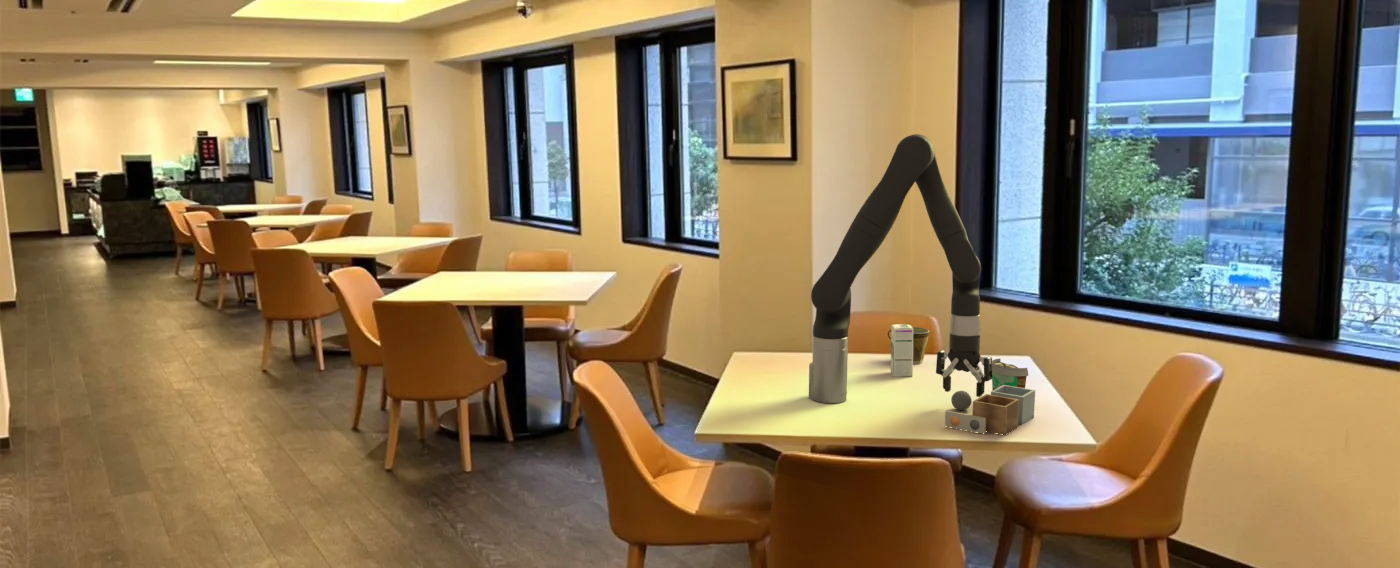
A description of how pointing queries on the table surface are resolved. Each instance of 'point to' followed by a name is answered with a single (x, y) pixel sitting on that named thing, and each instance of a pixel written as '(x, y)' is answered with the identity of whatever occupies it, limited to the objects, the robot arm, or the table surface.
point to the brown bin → (997, 413)
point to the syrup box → (902, 350)
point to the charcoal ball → (961, 400)
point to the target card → (965, 422)
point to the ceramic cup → (918, 343)
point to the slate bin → (1024, 397)
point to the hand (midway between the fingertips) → (963, 393)
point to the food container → (1007, 375)
